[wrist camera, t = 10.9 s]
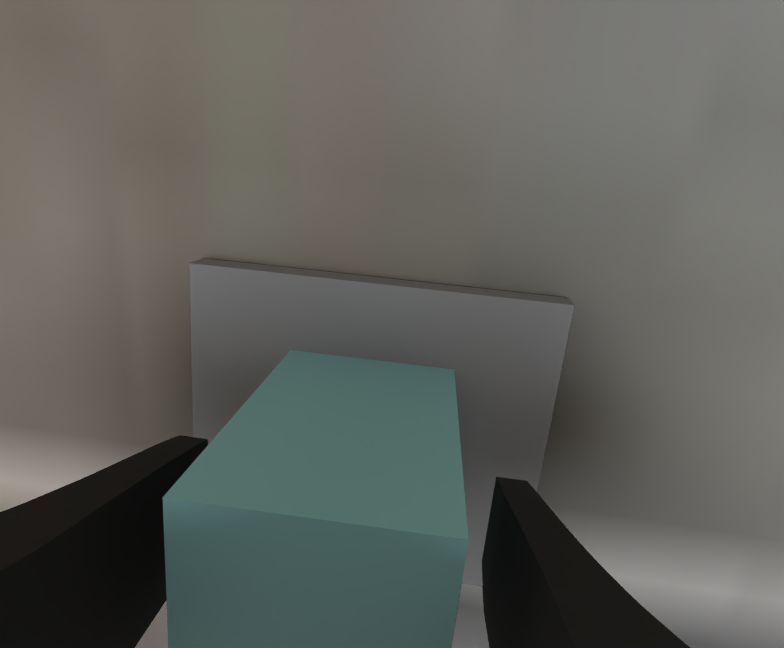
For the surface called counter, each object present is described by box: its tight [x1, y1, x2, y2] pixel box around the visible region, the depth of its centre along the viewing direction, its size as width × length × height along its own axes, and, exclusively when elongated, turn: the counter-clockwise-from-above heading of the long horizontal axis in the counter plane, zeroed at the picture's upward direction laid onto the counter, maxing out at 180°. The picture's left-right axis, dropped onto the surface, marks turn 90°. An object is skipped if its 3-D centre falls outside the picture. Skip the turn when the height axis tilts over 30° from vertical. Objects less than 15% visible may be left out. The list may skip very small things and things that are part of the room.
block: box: [163, 350, 469, 648], centre depth 10 cm, size 4×4×6 cm
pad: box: [189, 258, 574, 586], centre depth 13 cm, size 9×8×1 cm
